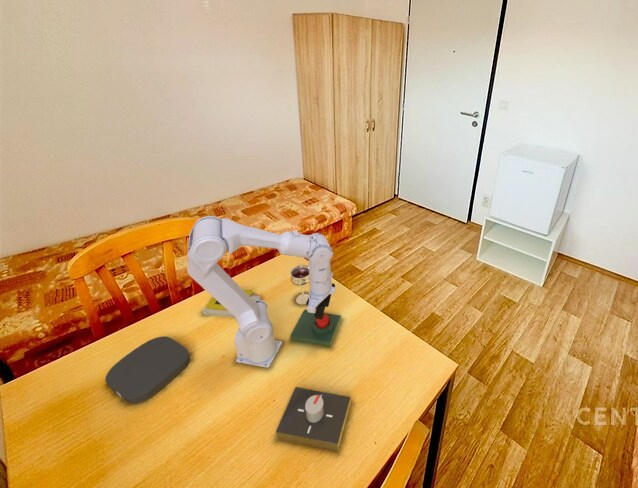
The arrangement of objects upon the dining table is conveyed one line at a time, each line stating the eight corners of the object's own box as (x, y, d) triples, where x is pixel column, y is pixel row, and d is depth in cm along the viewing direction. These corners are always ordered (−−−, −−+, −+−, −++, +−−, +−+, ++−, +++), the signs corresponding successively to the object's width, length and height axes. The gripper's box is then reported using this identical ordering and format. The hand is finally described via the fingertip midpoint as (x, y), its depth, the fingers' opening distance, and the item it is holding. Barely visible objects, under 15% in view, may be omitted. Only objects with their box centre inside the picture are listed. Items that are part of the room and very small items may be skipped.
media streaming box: (197, 359, 86) (194, 352, 84) (136, 411, 73) (133, 403, 72) (162, 337, 91) (160, 330, 89) (101, 382, 79) (97, 374, 77)
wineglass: (318, 297, 108) (316, 270, 103) (302, 310, 103) (300, 281, 98) (304, 289, 111) (301, 261, 106) (288, 300, 106) (285, 272, 101)
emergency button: (216, 282, 105) (260, 287, 105) (218, 292, 107) (261, 297, 107) (198, 303, 97) (246, 308, 97) (201, 314, 99) (248, 319, 98)
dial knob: (318, 425, 71) (317, 415, 69) (302, 419, 72) (301, 409, 70) (327, 407, 74) (326, 397, 72) (312, 401, 75) (311, 391, 73)
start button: (314, 326, 93) (314, 322, 93) (319, 317, 97) (318, 313, 96) (326, 328, 93) (326, 324, 92) (330, 319, 96) (330, 314, 95)
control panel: (277, 439, 70) (275, 431, 69) (296, 394, 79) (295, 386, 78) (337, 451, 69) (337, 443, 68) (350, 404, 78) (350, 396, 77)
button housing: (290, 341, 93) (289, 331, 91) (304, 314, 102) (303, 305, 100) (330, 347, 91) (330, 338, 90) (340, 320, 100) (340, 311, 99)
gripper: (325, 297, 80) (326, 334, 86) (342, 261, 93) (342, 295, 99) (298, 293, 81) (301, 330, 87) (319, 257, 94) (321, 292, 100)
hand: (322, 311), depth 93 cm, fingers open, 4 cm apart
